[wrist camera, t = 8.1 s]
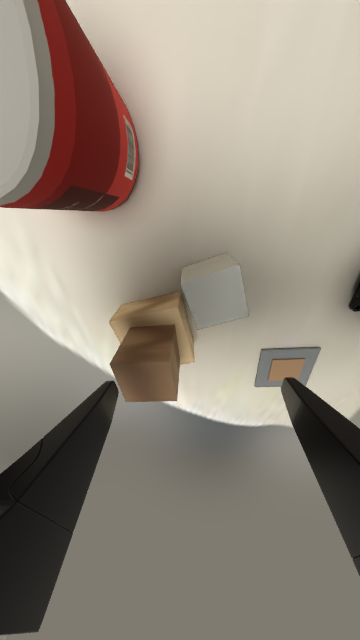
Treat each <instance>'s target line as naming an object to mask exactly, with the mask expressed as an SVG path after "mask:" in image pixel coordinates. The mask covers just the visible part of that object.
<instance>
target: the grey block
mask: <svg viewBox="0 0 360 640" xmlns="http://www.w3.org/2000/svg"><path fill="white" fill-rule="evenodd" d="M180 284H181V287H182V290H183V292H184V295H185V298H186V300H187V303H188V306H189V308H190V311H191V314H192V317H193V319H194V322H195V325H196V327H197V330H199V329H203V328H206V327H210V326H214V325H218V324H221V323H225V322H229V321H233V320H236V319H240V318H244V317H248V316H249V313H248V308H247V302H246V297H245V292H244V286H243V281H242V275H241V270H240V265H239V263H238V262H237V261H236V260H235V259H234V258H233V257H232V256H231V255H229V254H228V253H227V252H226V253H223V254H220V255H217V256H214V257H211V258H209V259H206V260H203V261H200V262H197V263H194V264H191V265H189V266H186V267H183V269H182V276H181V283H180Z"/></svg>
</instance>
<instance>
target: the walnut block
mask: <svg viewBox="0 0 360 640" xmlns="http://www.w3.org/2000/svg"><path fill="white" fill-rule="evenodd" d="M110 366H111V368H112V371H113V373H114V375H115V378H116V380H117V382H118V385H119V387H120V389H121V392H122V394H123V396H124V399H125V401H126V402H140V401H141V402H147V401H177V394H178V381H179V367H180V355H179V348H178V341H177V335H176V328H175V325H159V326H144V327H130V328H129V330H128V332H127V334H126V335H125V337H124V339H123V341H122V343H121V345H120V346H119V348H118V350H117V352H116V354H115V355H114V357H113V359H112V361H111V363H110Z"/></svg>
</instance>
